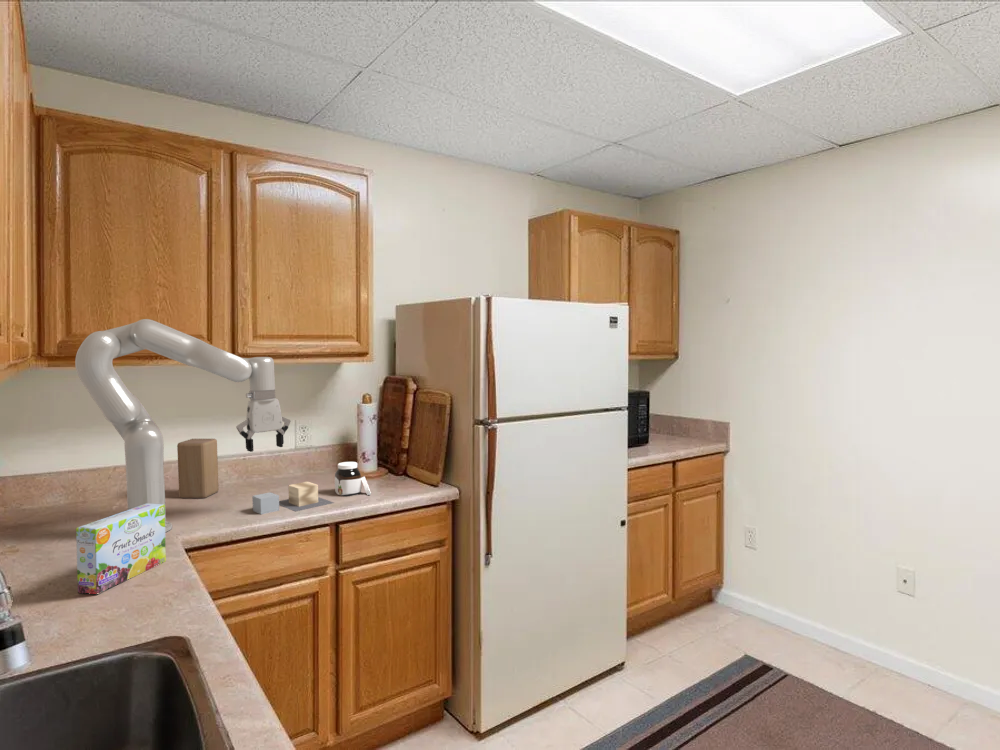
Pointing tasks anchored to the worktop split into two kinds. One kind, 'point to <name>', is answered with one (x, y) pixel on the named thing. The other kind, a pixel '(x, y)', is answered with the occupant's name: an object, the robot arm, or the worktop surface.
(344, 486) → the spread jar
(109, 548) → the snack box
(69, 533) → the worktop surface
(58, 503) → the worktop surface
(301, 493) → the base block
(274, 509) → the grey cube
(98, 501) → the worktop surface
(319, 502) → the build mat
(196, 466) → the block
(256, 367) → the robot arm
